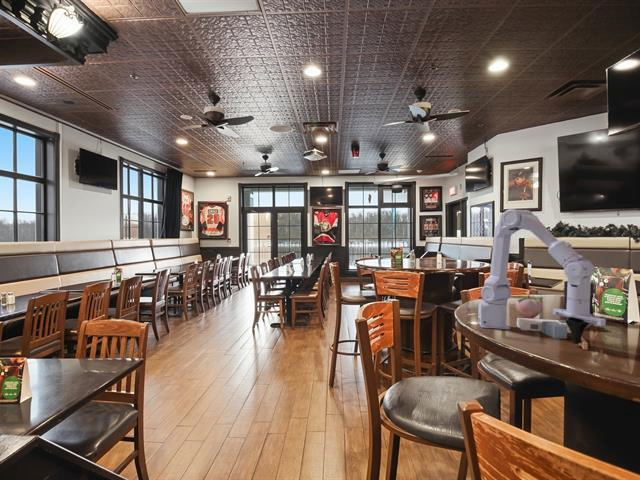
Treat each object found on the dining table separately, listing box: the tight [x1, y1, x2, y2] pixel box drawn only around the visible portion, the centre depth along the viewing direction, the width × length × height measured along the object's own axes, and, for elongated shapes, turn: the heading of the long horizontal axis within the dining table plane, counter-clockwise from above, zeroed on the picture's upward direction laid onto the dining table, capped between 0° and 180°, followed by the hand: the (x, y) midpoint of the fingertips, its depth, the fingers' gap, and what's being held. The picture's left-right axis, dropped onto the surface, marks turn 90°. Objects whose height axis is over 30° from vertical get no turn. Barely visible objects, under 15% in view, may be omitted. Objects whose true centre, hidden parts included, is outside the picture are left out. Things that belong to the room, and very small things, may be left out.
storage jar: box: [563, 280, 595, 321], centre depth 144 cm, size 10×10×15 cm
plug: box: [541, 321, 568, 340], centre depth 121 cm, size 5×7×4 cm
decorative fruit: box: [515, 294, 543, 319], centre depth 143 cm, size 9×8×10 cm
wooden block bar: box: [578, 336, 589, 350], centre depth 111 cm, size 12×2×2 cm, turn 155°
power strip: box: [516, 317, 571, 334], centre depth 128 cm, size 16×6×3 cm, turn 76°
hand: (576, 343), depth 109 cm, fingers closed, pressing on wooden block bar
